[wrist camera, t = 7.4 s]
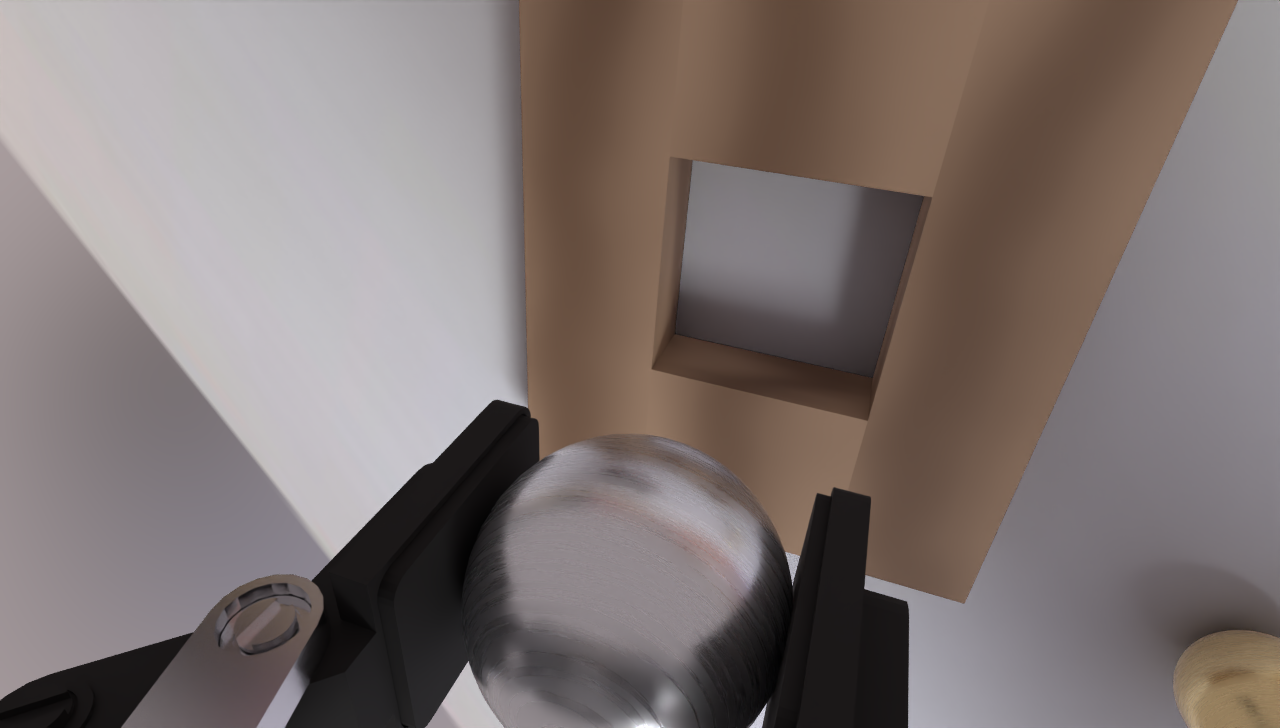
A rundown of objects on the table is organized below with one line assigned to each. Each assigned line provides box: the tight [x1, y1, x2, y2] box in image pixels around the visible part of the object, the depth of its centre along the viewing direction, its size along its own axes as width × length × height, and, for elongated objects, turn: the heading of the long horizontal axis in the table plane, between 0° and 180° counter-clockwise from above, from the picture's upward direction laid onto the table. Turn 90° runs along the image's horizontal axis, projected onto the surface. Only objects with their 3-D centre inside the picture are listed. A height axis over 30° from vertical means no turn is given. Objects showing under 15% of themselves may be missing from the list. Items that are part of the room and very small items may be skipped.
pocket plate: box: [519, 0, 1238, 603], centre depth 20 cm, size 15×18×2 cm
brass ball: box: [1173, 630, 1280, 728], centre depth 20 cm, size 4×4×4 cm
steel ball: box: [462, 434, 793, 728], centre depth 10 cm, size 4×4×4 cm
